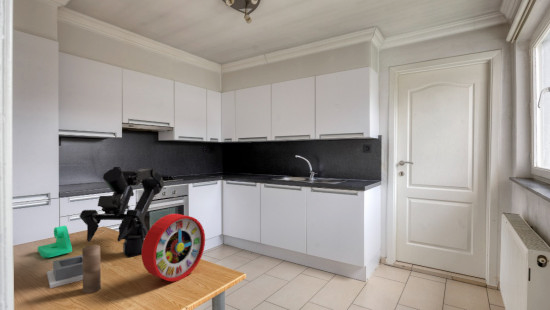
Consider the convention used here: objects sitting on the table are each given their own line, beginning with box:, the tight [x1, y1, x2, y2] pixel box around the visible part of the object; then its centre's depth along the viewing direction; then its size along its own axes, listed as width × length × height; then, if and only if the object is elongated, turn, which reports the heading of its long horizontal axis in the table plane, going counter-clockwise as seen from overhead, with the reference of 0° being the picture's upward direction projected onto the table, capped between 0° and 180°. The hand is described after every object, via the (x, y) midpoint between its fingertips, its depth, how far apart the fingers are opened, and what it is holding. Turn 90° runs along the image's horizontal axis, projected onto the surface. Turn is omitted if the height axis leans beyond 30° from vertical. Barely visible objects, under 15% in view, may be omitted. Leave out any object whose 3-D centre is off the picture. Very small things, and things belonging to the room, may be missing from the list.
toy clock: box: [141, 213, 206, 282], centre depth 92 cm, size 20×6×20 cm, turn 147°
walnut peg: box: [81, 244, 102, 295], centre depth 84 cm, size 4×4×12 cm
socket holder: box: [46, 254, 83, 289], centre depth 93 cm, size 12×12×4 cm
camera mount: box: [37, 225, 73, 259], centre depth 111 cm, size 12×8×10 cm, turn 55°
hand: (103, 241), depth 90 cm, fingers open, 9 cm apart
